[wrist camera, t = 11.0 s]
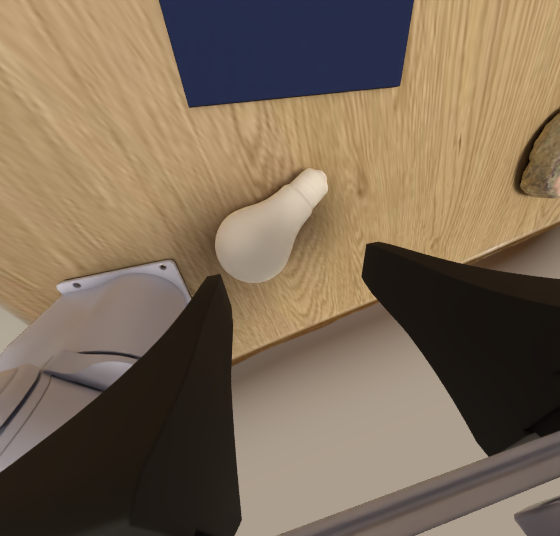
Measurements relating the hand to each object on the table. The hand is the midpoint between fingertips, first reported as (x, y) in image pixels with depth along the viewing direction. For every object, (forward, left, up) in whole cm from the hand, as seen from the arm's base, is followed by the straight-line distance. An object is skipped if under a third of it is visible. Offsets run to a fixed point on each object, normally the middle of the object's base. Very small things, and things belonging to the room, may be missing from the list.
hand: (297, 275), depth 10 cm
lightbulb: (+5, +3, -8) cm, 10 cm away
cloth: (+4, +13, -10) cm, 17 cm away
